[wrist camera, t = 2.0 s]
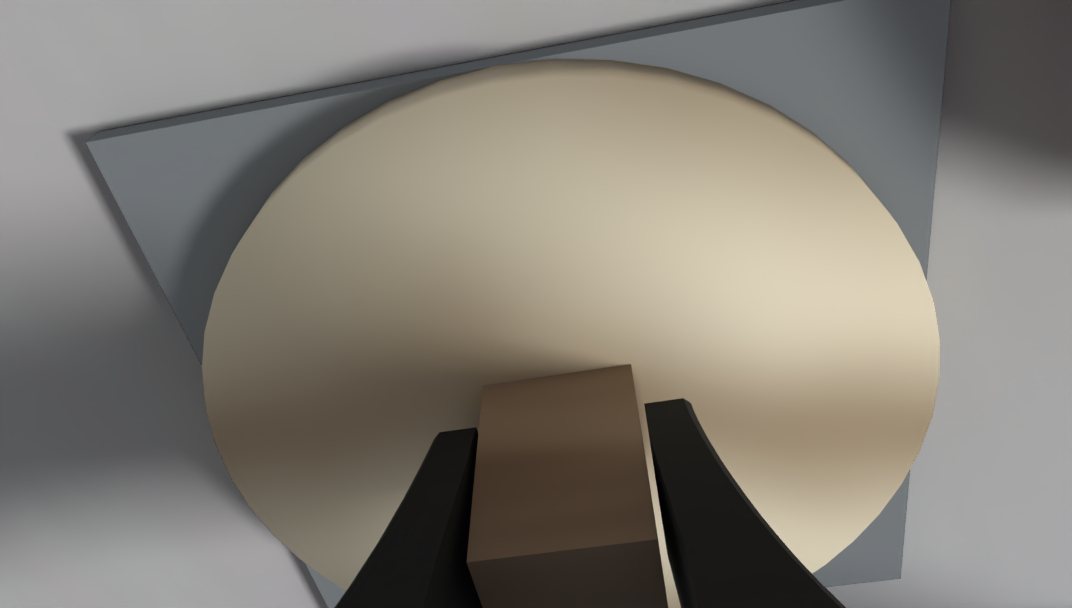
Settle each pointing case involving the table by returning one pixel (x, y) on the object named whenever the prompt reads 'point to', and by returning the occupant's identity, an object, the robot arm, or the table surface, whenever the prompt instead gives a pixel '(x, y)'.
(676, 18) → the table surface
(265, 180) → the mat
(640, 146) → the lid
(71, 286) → the table surface
